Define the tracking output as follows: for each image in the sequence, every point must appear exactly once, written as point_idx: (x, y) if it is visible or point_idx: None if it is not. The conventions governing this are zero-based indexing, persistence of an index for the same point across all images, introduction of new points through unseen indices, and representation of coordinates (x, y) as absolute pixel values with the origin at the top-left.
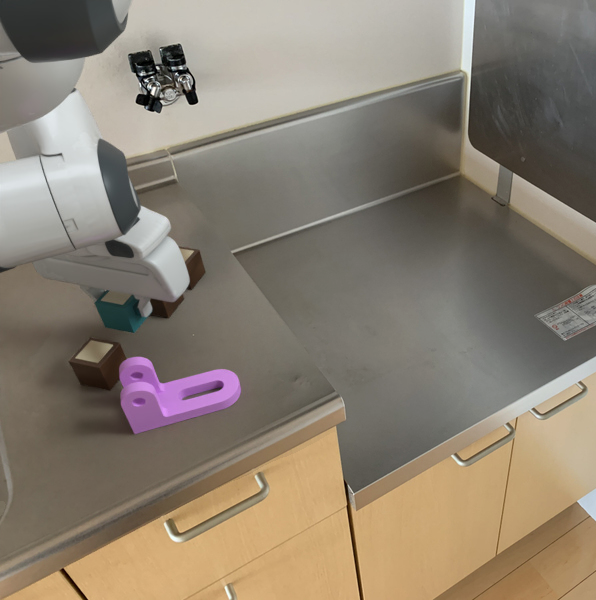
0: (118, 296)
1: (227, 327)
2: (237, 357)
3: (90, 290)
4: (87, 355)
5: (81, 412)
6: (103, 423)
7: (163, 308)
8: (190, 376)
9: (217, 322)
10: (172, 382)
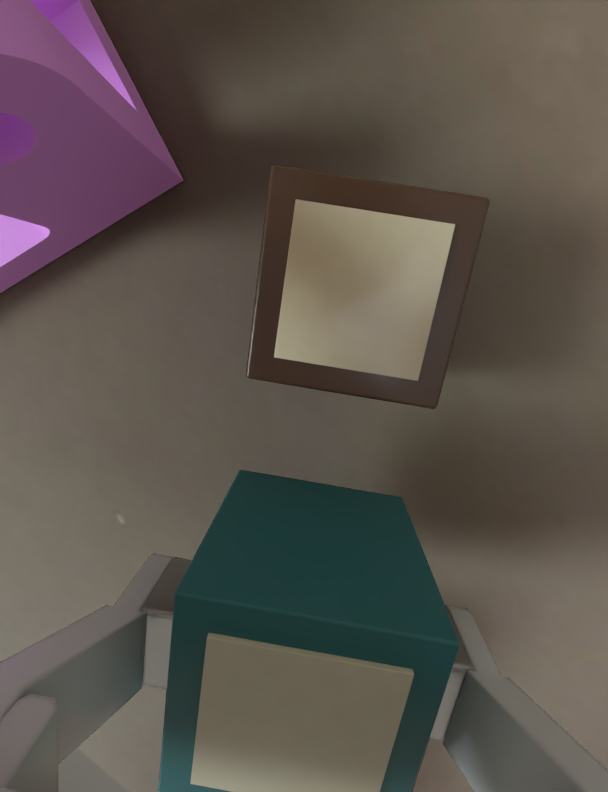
0: (287, 712)
1: (27, 556)
2: None
3: (544, 775)
4: (384, 253)
5: (360, 81)
6: (240, 31)
7: None
8: None
9: (70, 576)
10: (15, 247)
